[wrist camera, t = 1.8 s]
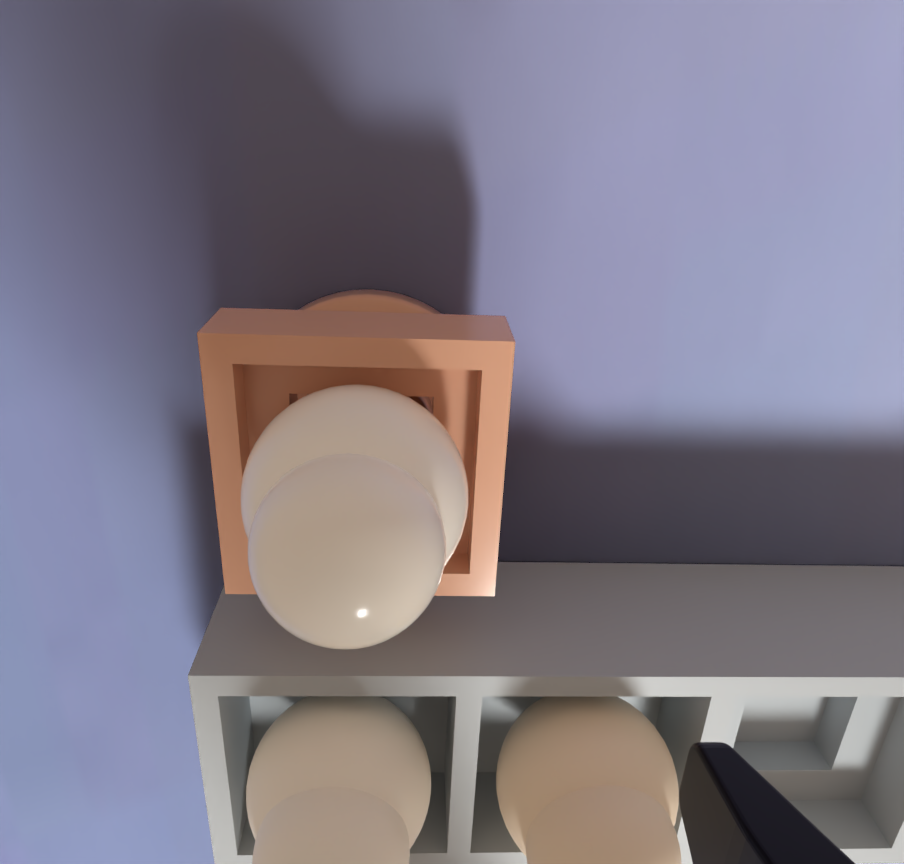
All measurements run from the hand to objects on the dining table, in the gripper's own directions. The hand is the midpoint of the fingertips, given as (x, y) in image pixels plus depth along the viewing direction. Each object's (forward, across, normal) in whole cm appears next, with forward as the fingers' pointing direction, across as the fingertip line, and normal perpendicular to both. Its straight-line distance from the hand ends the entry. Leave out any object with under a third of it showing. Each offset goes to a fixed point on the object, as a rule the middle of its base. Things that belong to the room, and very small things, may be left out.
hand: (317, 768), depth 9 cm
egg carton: (+11, -8, +8) cm, 16 cm away
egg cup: (+11, 0, 0) cm, 11 cm away
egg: (+8, 0, 0) cm, 9 cm away
